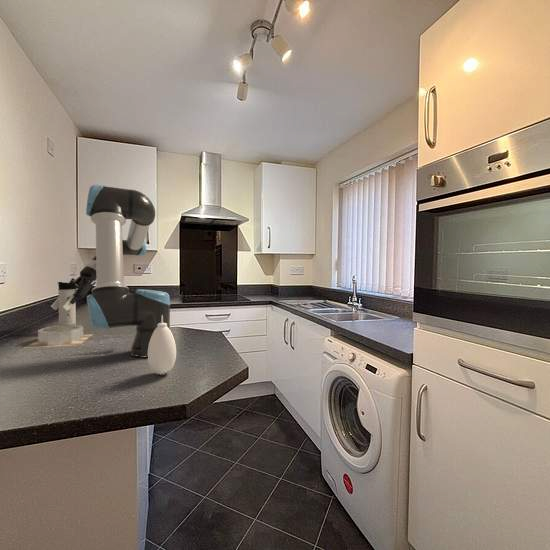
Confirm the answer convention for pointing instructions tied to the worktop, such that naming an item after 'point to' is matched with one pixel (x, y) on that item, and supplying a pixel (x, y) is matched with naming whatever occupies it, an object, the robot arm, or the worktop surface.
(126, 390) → the worktop surface
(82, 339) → the birch board
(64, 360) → the worktop surface
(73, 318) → the travel mug
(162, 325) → the sauce bottle
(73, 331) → the collar
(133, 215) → the robot arm
